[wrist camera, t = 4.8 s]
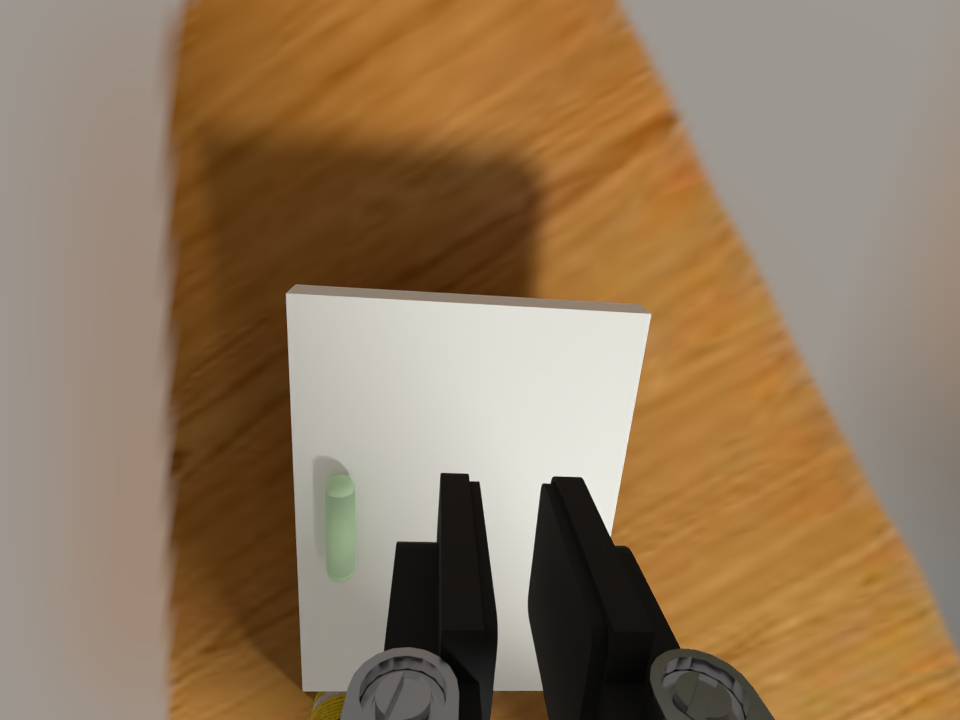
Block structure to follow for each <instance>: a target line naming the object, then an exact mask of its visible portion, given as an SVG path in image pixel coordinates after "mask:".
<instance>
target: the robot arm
mask: <svg viewBox="0 0 960 720" xmlns="http://www.w3.org/2000/svg"><path fill="white" fill-rule="evenodd" d="M528 617H529V622H530V627H531V632H532V637H533V642H534V647H535V652H536V657H537V662H538V667H539V672H540V677H541V682H542V687H543V692H544V697H545V702H546V707H547V712H548V717H549V720H775V719H774V717H773V716H772V714H771V713H770V711H769V710H768V709H767V707H766V706H765V704H764V703H763V701H762V700H761V698H760V697H759V695H758V694H757V692H756V691H755V689H754V688H753V686H752V685H751V684H750V683H749V682H748V681H747V679H746V678H745V677H744V676H743V675H742V674H741V673H740V672H739V671H737V670H736V669H735V668H733V667H732V666H731V665H730V664H728V663H727V662H725V661H723V660H721V659H719V658H717V657H715V656H713V655H711V654H708V653H705V652H702V651H698V650H693V649H681V648H680V646H679V645H678V643H677V641H676V639H675V637H674V635H673V633H672V631H671V629H670V627H669V625H668V623H667V621H666V619H665V617H664V615H663V613H662V611H661V609H660V607H659V605H658V603H657V601H656V599H655V597H654V595H653V593H652V591H651V589H650V587H649V585H648V583H647V581H646V579H645V577H644V575H643V573H642V571H641V569H640V567H639V565H638V563H637V561H636V559H635V557H634V556H633V554H632V552H631V551H630V549H629V548H628V547H626V546H614V544H613V541H612V539H611V537H610V535H609V533H608V531H607V529H606V527H605V524H604V522H603V520H602V518H601V516H600V514H599V512H598V509H597V507H596V505H595V503H594V501H593V499H592V497H591V494H590V492H589V490H588V488H587V486H586V484H585V482H584V480H583V478H582V477H561V476H553V478H552V480H551V484H547V483H543V484H542V486H541V491H540V499H539V508H538V516H537V524H536V533H535V541H534V550H533V558H532V566H531V575H530V583H529V592H528ZM497 645H498V622H497V611H496V603H495V595H494V588H493V580H492V572H491V565H490V557H489V549H488V542H487V534H486V526H485V519H484V511H483V503H482V496H481V488H480V482H479V481H470V480H469V474H464V473H441V474H440V488H439V506H438V523H437V541H436V542H406V541H397V543H396V550H395V558H394V567H393V576H392V584H391V593H390V601H389V610H388V619H387V627H386V636H385V644H384V652H381V653H378V654H376V655H375V656H373V657H372V658H370V659H368V660H367V661H365V662H364V663H363V664H362V665H361V666H360V668H359V669H358V670H357V671H356V672H355V673H354V675H353V677H352V679H351V682H350V684H349V686H348V689H347V693H346V697H345V701H344V705H343V709H342V713H341V717H340V718H339V719H337V720H490V715H491V706H492V696H493V686H494V676H495V667H496V657H497Z"/></svg>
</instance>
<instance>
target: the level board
mask: <svg viewBox="0 0 960 720" xmlns="http://www.w3.org/2000/svg"><path fill="white" fill-rule="evenodd" d="M286 309H287V332H288V356H289V380H290V404H291V427H292V451H293V475H294V498H295V522H296V546H297V570H298V593H299V617H300V641H301V665H302V688H303V691H347V689H348V686H349V684H350V682H351V679H352V677H353V675H354V673H355V672H356V671H357V670H358V669H359V668H360V666H361V665H362V664H363V663H364V662H365V661H367V660H368V659H370V658H372V657H373V656H375V655H376V654H378V653H381V652H384V644H385V636H386V627H387V619H388V610H389V601H390V593H391V584H392V576H393V567H394V558H395V550H396V543H397V541H406V542H436V541H437V523H438V506H439V488H440V474H441V473H464V474H469V480H470V481H479V482H480V488H481V496H482V503H483V511H484V519H485V526H486V534H487V542H488V549H489V557H490V565H491V572H492V580H493V588H494V595H495V603H496V611H497V622H498V645H497V657H496V667H495V676H494V686H493V691H543V687H542V682H541V677H540V672H539V667H538V662H537V657H536V652H535V647H534V642H533V637H532V632H531V627H530V622H529V617H528V592H529V583H530V575H531V566H532V558H533V550H534V541H535V533H536V524H537V516H538V508H539V499H540V491H541V486H542V484H543V483H547V484H551V480H552V478H553V476H561V477H582V478H583V480H584V482H585V484H586V486H587V488H588V490H589V492H590V494H591V497H592V499H593V501H594V503H595V505H596V507H597V509H598V512H599V514H600V516H601V518H602V520H603V522H604V524H605V527H606V529H607V531H608V533H609V535H610V537H611V531H612V526H613V520H614V515H615V509H616V504H617V498H618V493H619V487H620V482H621V477H622V471H623V466H624V460H625V455H626V449H627V444H628V438H629V433H630V428H631V422H632V417H633V411H634V406H635V400H636V395H637V389H638V384H639V379H640V373H641V368H642V362H643V357H644V351H645V346H646V340H647V335H648V329H649V324H650V319H651V313H650V312H648V311H647V310H646V309H645V308H643V307H642V306H641V305H639V304H628V303H611V302H593V301H576V300H559V299H541V298H524V297H507V296H489V295H472V294H455V293H437V292H420V291H403V290H385V289H368V288H351V287H333V286H316V285H299V284H295V285H294V286H293V287H292V288H291V289H290V290H289V291H288V292H287V293H286Z"/></svg>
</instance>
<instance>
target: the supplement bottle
mask: <svg viewBox="0 0 960 720" xmlns="http://www.w3.org/2000/svg"><path fill="white" fill-rule="evenodd" d="M346 693H347V691H317V692H316V696H315V699H314V703H313V707H312V711H311V715H310V719H309V720H337V719H339V718H340V717H341V713H342V709H343V705H344V701H345V697H346Z"/></svg>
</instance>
